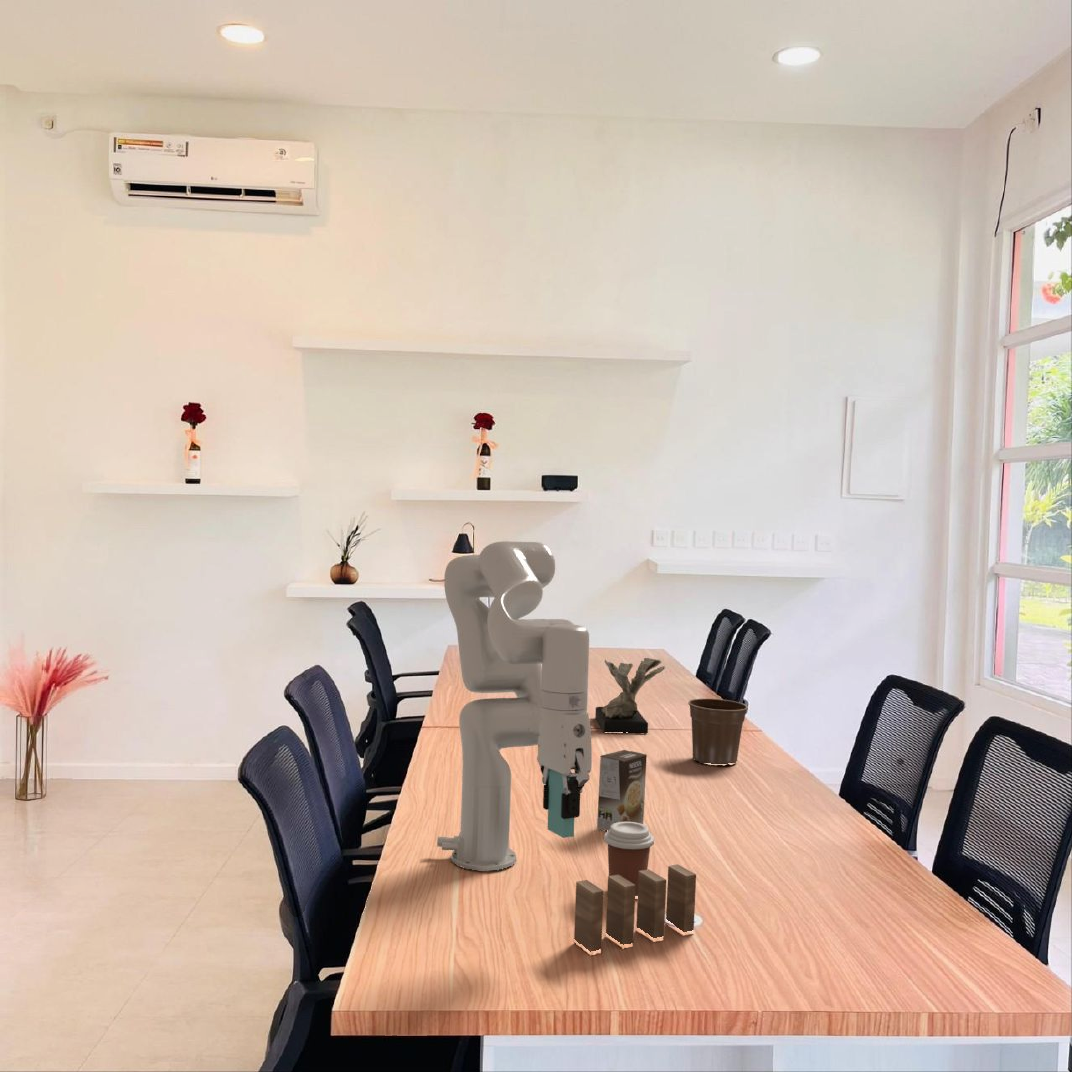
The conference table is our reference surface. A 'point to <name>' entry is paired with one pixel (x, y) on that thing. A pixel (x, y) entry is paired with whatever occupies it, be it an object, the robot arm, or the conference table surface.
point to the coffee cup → (628, 850)
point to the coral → (626, 699)
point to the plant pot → (716, 729)
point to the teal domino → (558, 807)
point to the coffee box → (621, 788)
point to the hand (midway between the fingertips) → (561, 811)
